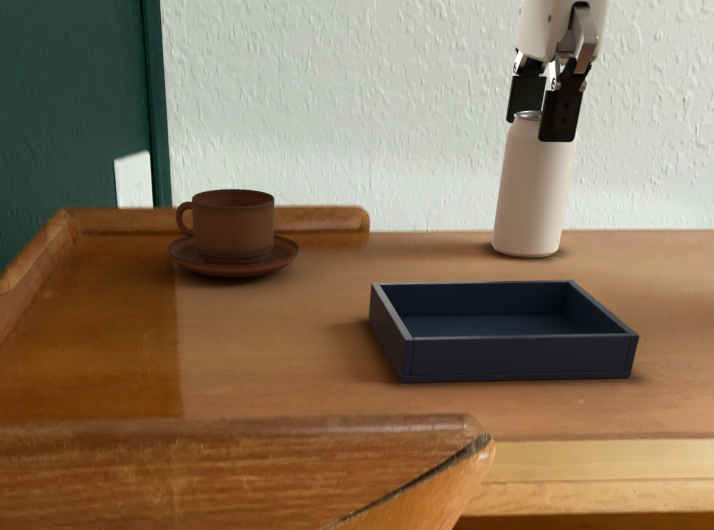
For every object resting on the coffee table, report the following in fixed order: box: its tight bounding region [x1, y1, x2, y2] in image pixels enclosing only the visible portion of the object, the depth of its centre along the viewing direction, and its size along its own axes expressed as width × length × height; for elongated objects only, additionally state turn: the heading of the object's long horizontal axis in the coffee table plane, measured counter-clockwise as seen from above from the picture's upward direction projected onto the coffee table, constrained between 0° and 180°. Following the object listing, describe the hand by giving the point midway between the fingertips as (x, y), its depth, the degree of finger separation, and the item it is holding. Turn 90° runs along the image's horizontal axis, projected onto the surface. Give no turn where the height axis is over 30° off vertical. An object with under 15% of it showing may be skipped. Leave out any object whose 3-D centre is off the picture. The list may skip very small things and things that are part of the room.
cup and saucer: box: [167, 188, 300, 278], centre depth 87 cm, size 12×12×6 cm
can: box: [491, 110, 579, 259], centre depth 91 cm, size 6×6×12 cm
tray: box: [368, 279, 640, 384], centre depth 71 cm, size 16×13×3 cm
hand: (538, 131), depth 89 cm, fingers open, 9 cm apart
